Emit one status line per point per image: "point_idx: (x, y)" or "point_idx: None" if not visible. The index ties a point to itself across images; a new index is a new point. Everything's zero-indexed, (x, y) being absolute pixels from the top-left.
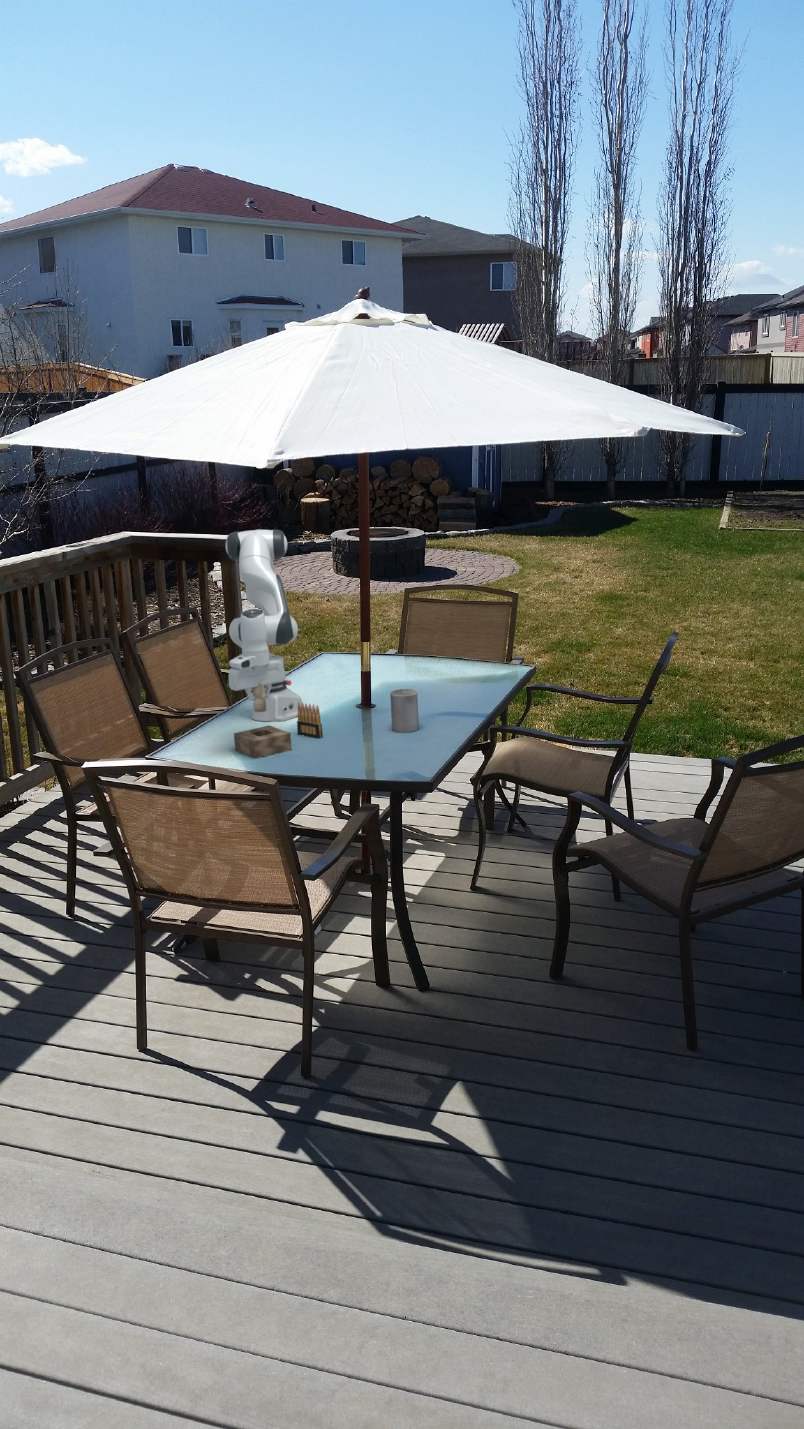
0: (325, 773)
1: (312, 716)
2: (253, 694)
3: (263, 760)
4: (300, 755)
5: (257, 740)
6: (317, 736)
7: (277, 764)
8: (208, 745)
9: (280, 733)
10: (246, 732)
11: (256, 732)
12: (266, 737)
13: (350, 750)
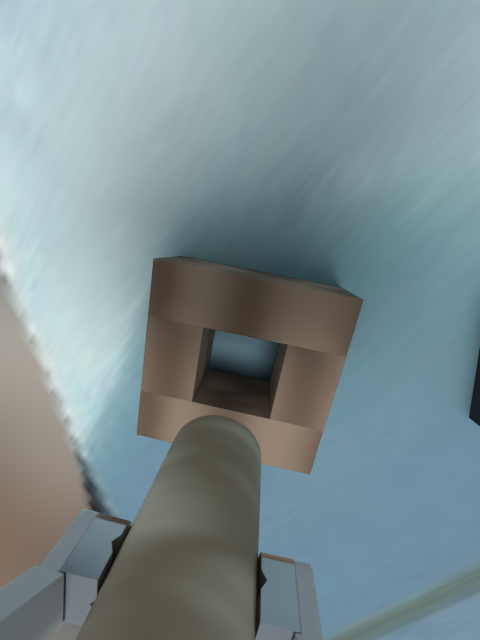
0: None
1: None
2: (92, 607)
3: None
4: (271, 484)
5: (152, 434)
6: (476, 413)
7: None
8: (153, 84)
9: (280, 445)
10: (202, 302)
11: (239, 333)
12: None
13: (392, 570)
